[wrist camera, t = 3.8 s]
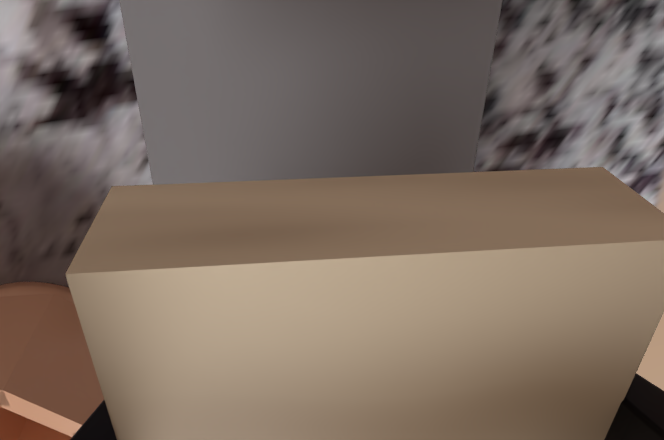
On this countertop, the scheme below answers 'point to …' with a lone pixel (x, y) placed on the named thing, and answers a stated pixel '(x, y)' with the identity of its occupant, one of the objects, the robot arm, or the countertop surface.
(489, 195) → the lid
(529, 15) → the countertop surface
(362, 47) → the mat
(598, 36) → the countertop surface
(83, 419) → the bowl
